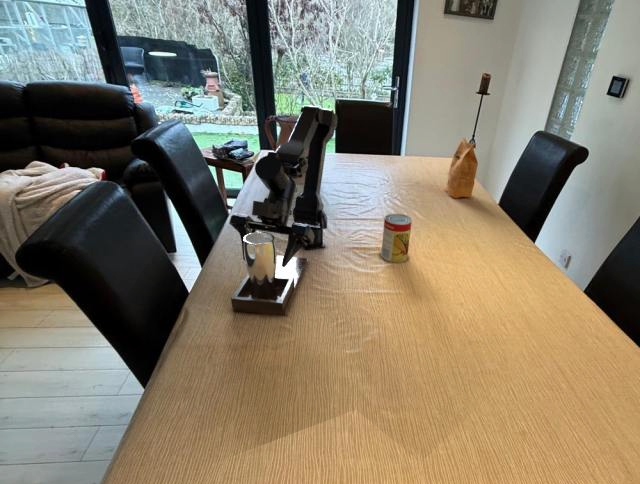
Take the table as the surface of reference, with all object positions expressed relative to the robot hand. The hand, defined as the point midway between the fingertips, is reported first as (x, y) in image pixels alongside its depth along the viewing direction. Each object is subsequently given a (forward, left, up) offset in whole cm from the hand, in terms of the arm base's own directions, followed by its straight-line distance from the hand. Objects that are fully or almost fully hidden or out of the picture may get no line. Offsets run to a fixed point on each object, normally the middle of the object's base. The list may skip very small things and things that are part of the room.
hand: (263, 263), depth 95 cm
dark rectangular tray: (-4, -6, -10) cm, 12 cm away
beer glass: (+1, 0, -9) cm, 9 cm away
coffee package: (-98, -48, -10) cm, 110 cm away
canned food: (-41, -8, -10) cm, 43 cm away
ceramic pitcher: (-37, -84, -10) cm, 93 cm away
